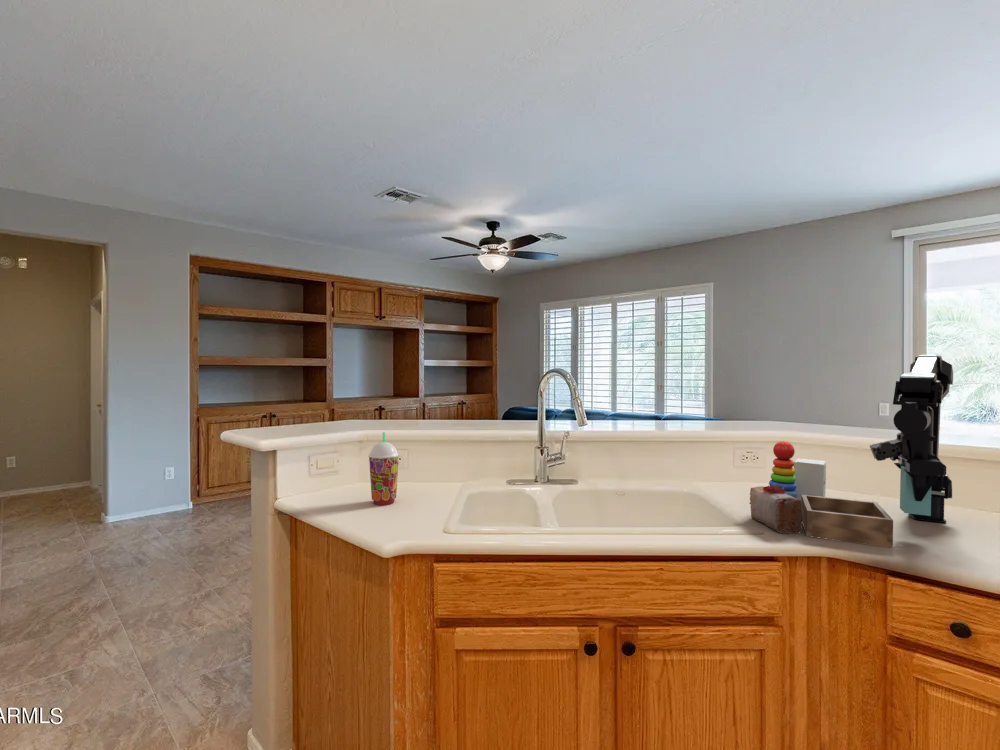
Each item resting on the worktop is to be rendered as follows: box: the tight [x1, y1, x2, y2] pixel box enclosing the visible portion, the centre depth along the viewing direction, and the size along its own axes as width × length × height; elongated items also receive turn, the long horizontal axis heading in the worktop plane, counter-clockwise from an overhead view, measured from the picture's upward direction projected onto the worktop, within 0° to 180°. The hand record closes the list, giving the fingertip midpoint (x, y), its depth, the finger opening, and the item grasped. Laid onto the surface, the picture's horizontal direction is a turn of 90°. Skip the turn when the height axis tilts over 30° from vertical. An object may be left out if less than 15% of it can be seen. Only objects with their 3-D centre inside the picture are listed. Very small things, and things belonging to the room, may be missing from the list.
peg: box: [899, 466, 931, 516], centre depth 117 cm, size 5×5×10 cm
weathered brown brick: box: [749, 485, 803, 534], centre depth 127 cm, size 14×8×10 cm, turn 3°
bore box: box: [801, 495, 894, 549], centre depth 122 cm, size 16×16×6 cm
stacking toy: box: [768, 440, 798, 499], centre depth 140 cm, size 8×8×19 cm
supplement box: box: [793, 458, 827, 500], centre depth 144 cm, size 7×7×13 cm
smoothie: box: [368, 431, 400, 506], centre depth 146 cm, size 8×8×20 cm
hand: (915, 498), depth 117 cm, fingers closed on peg, 5 cm apart
